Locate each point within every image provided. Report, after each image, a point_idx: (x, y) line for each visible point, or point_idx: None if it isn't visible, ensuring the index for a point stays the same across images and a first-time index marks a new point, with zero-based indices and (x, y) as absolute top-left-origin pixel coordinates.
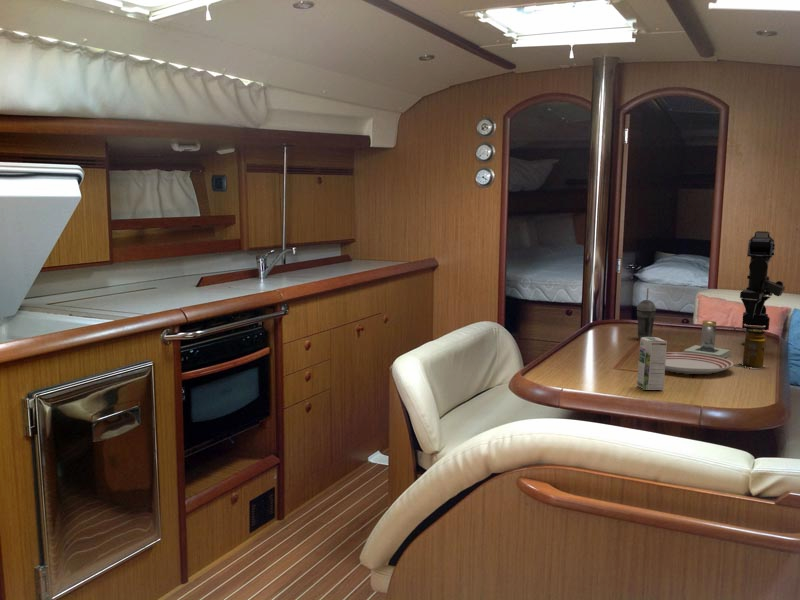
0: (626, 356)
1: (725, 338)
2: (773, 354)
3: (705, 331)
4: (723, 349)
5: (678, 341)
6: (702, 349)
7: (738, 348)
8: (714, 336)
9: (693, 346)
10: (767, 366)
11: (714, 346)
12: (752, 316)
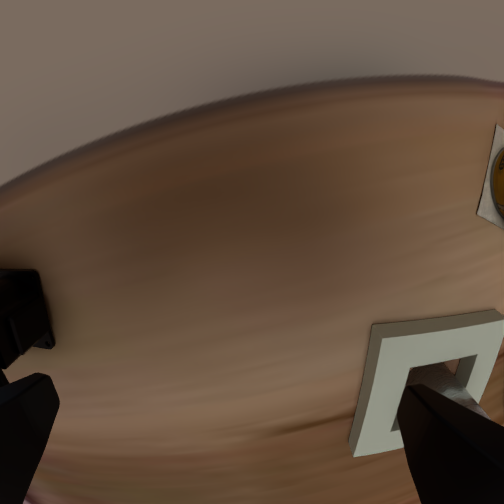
0: None
1: None
2: (165, 157)
3: None
4: (389, 362)
5: (201, 501)
6: None
7: (143, 343)
8: (478, 412)
9: (385, 449)
10: (498, 128)
11: (446, 385)
12: (441, 399)
